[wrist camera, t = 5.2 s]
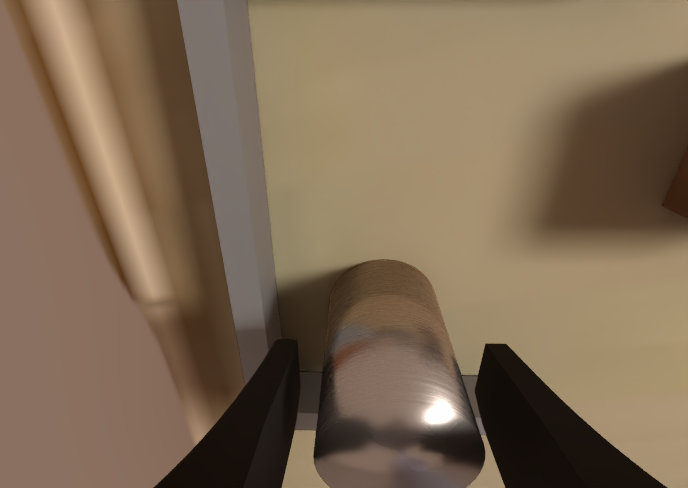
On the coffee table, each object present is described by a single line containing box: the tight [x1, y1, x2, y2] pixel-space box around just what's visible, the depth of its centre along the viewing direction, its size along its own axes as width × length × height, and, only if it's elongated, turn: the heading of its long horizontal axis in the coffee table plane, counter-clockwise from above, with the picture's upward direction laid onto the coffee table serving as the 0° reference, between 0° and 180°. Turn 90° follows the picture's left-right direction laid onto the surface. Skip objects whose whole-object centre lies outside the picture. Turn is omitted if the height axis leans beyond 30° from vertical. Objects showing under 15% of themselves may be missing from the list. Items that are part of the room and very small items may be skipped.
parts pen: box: [177, 0, 486, 435], centre depth 11 cm, size 16×11×2 cm
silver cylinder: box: [314, 260, 485, 488], centre depth 11 cm, size 4×4×6 cm
